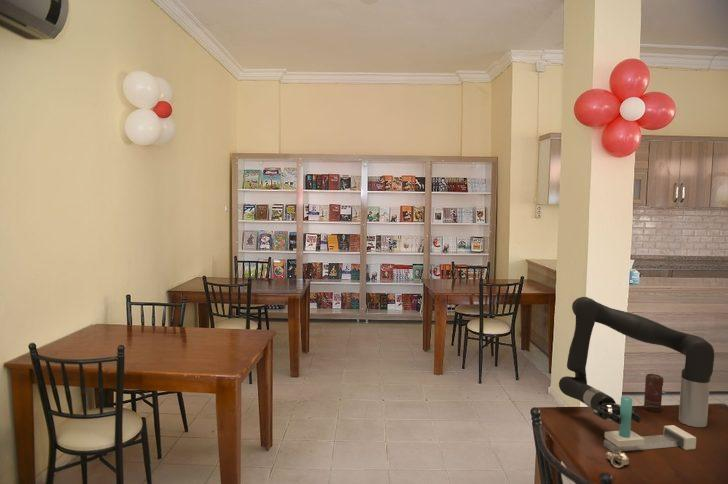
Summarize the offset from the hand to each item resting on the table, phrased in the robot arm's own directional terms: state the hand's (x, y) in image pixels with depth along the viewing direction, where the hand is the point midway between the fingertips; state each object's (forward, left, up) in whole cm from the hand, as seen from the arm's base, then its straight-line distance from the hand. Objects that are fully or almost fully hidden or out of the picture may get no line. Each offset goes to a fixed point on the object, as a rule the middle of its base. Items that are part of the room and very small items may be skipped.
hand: (629, 420), depth 174 cm
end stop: (-13, +18, -11) cm, 24 cm away
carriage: (-2, -1, -8) cm, 8 cm away
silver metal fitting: (+10, -5, -11) cm, 16 cm away
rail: (-5, +5, -11) cm, 13 cm away
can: (-43, +15, -11) cm, 47 cm away
